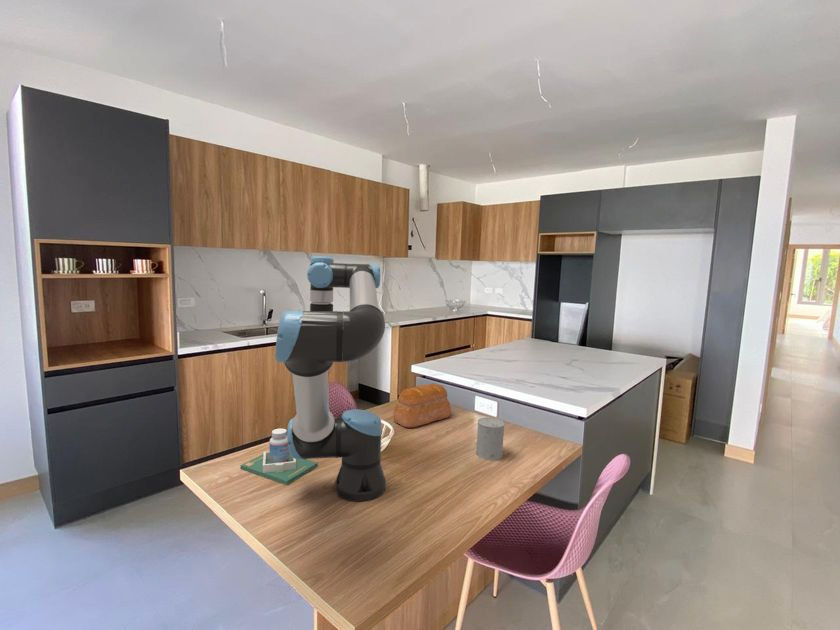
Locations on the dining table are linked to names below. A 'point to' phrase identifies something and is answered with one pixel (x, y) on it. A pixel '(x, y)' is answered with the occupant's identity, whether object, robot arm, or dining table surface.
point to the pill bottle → (278, 447)
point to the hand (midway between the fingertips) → (320, 371)
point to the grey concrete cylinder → (490, 438)
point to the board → (283, 474)
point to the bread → (422, 405)
